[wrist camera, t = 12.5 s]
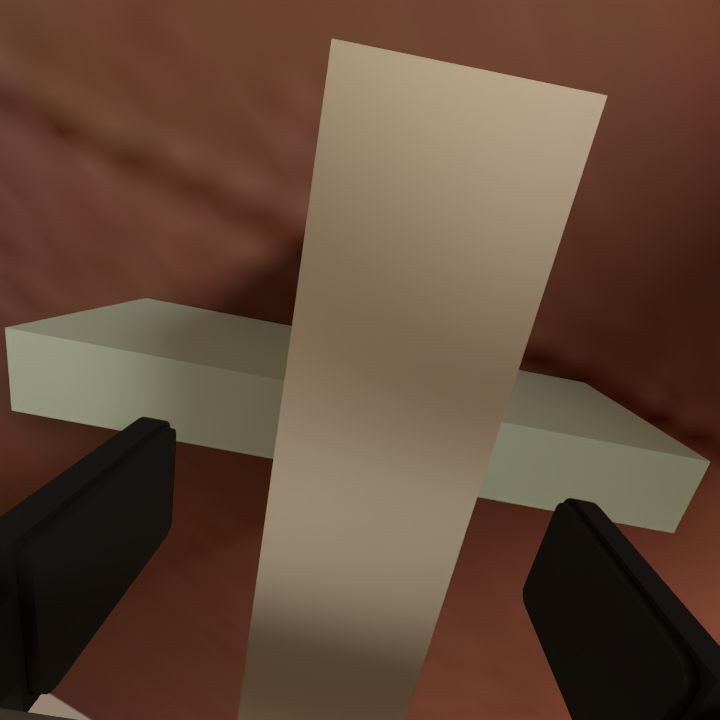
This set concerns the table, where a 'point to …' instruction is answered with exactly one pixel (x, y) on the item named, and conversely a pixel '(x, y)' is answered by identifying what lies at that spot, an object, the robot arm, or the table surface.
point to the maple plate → (400, 364)
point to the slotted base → (264, 395)
